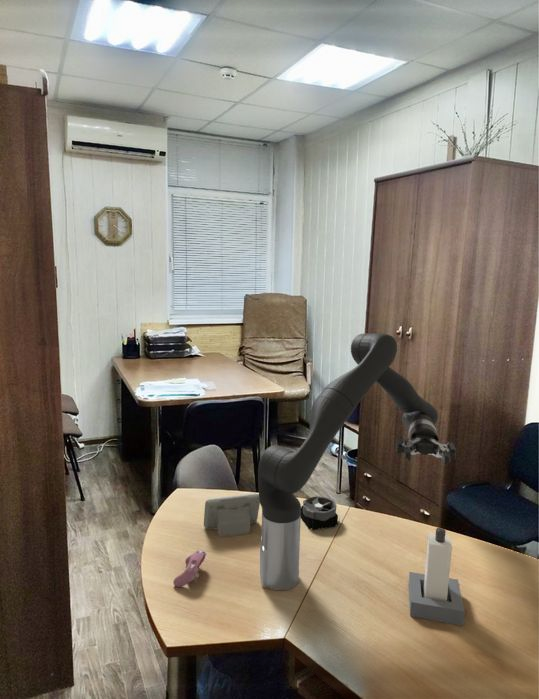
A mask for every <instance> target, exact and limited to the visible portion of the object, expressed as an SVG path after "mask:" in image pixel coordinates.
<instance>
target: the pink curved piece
mask: <svg viewBox="0 0 539 699" xmlns="http://www.w3.org/2000/svg"><path fill="white" fill-rule="evenodd" d="M206 555H207V552H206V551H203V550H200V549H197V550H196V551H194V553H192V554H190V555H189V556H187V557H186V558H185V561H184V562H185V564H186V568H185V570H184V571H183V572H182V573H180V574H179V575H177V576H176V577H175V578H174V579H173V585H174V586H175V587H179V588H181V587H184V586H186V585H187V584H189V583H191V582H193V580H194V579H197V578H198V577H199V576H200V573H199V571H200V566H201V565H202V564H203V562H204V561H205V559H206Z"/></svg>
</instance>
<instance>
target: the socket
mask: <svg viewBox="0 0 539 699" xmlns="http://www.w3.org/2000/svg"><path fill="white" fill-rule="evenodd" d="M424 578H425V573H419V572H411V571H409V573H408V583H407V584H408V586H407V587H408V600H409V601H408V602H409V604H408V605H409V616H410V617H413V618H418V619H423V620H429V621H434V622H441V623H446V624H452V625H455V626H456V625H457V626H458V625H459V626H462V627H463V626H464V620H465V606H464V601H463V598H462V593H461V592H462V591H461V588H460V584H459V579H458V578H450V577H449V583H448V594H447V601H442V600H436V599H430V598H424V597H423V595H422V594H423V589H424Z"/></svg>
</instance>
